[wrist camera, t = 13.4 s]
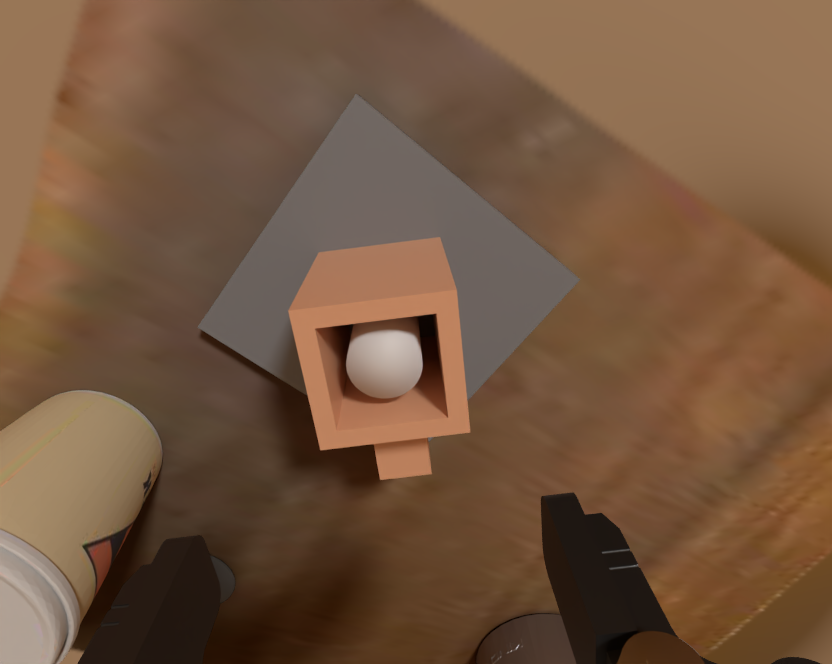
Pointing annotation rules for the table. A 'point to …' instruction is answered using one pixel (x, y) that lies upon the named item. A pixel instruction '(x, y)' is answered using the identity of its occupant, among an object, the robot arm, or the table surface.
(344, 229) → the base
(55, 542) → the coffee cup
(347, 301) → the orange hollow box
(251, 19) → the table surface
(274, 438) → the table surface
